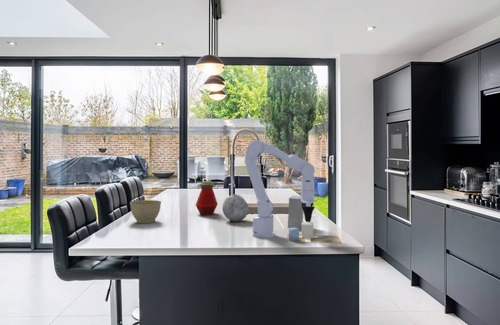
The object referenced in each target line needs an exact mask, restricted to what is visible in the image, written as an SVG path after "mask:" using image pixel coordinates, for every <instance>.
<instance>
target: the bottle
mask: <svg viewBox="0 0 500 325" xmlns="http://www.w3.org/2000/svg"><path fill="white" fill-rule="evenodd" d="M214 185H215V184H214V182H213V181H211V180H203V181H202V182H201V183H200V188H201V190H200V193H199V195H198V197H197V200H196V203H195V207H196V209H197V210H198V211H197V212H198V213H199V215H201V216H212V215H214V213H215V211H216V209H217V206H218V202H217V201H218V200H217V197H216V195H215V191H214V189H213V188H214Z"/></svg>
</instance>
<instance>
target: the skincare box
mask: <svg viewBox="0 0 500 325" xmlns="http://www.w3.org/2000/svg"><path fill="white" fill-rule="evenodd" d="M301 203H303V202H301V195H291V196H290V197H288V211H287V212H288V215H287V217H288V218H287V229H289V228H299V230H300V229H302V222H304V211H303V209H302V204H301Z"/></svg>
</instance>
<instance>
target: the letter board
mask: <svg viewBox="0 0 500 325" xmlns="http://www.w3.org/2000/svg"><path fill="white" fill-rule="evenodd" d="M299 236H302V233H299ZM313 236H317V237H318V238H310V239H311V242H308V243H310V244H311V243H314V244H317V243H318V244H342V241H341V239H340V236H339V235H329V234H324V235H323V234H313ZM286 242H287V243H288V242H289V243H306V242H305V238H302V237H299V241H295V242H294V241H289V233H287V235H286Z"/></svg>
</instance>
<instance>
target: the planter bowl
mask: <svg viewBox="0 0 500 325" xmlns="http://www.w3.org/2000/svg"><path fill="white" fill-rule="evenodd" d="M161 204H162V201H161V200H154V199H149V200H148V199H147V200H146V199H145V200H144V199H143V200H136V201H135V200H134V201H131V202H129V205H130V211H131V214H132V216H133V218H134V220H136V223H138V224H151V223H154V222H156V220H157V217H158V216H159V213H160V212H161Z"/></svg>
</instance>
